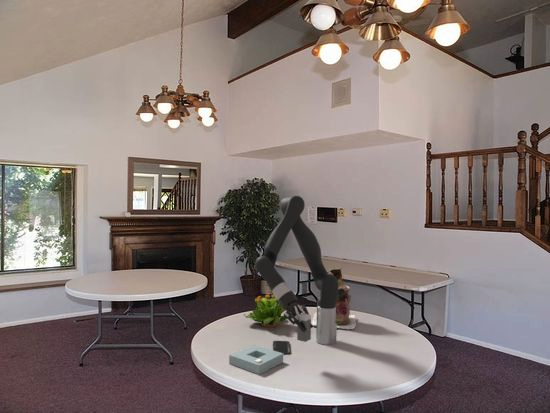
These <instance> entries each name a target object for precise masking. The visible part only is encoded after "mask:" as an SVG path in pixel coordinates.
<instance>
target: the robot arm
mask: <svg viewBox="0 0 550 413" xmlns="http://www.w3.org/2000/svg"><path fill="white" fill-rule="evenodd" d="M279 205H280V206H279V207H280V211H281V213H282V215H283V218H282V219H281V221H280V222H279V223H278V225H277V226H276V227H275V228H274V229H273V231H272V232H271V233H270V236H269V237H268V239H267V241H266V243H265V246H264V247H263V248H264V252H263V255H261V256H259V257H257V258H256V259H255V264H254V266H255V269H256V270H257V272H258V273H259V274H260V276H261V277H262V278H263V280H265V282H266V285H267V286H268V287H269V289H270V290H271V292H272V295H273V294H274V296H275V297H276V299H277V300H278V303H280V306H282V308H283V309H286V311H284V312H283V316H285V317H286V318H287V320H288V321H289V322H290V324H292V325H296V326H297V325H298V326H299V328H300V329H301V331H302V332H305V331H306V330H307V328H306V327H305V325H304V324H303V322H301V319H300V318H299V316H300V314H308V315H310V313H309V311H308V308H307V306H306V305H305V304H303V305H301V304H299V303H298V300H299V299H298V297H297V296H296V294H295V293H294V291H293V290H292V288H291V287H290V285H288V283H287V282H286V281H285V280H284V278H283V277H282V275H281V274H280V273H279V272H278V271H277V269H276V267H275V265H276V262H277V259H278V255H279V254H280V251H281V249H282V247H283V245H284V243H285V242H286V238H287V237H288V235H289V233H290V232H292V234H293V235H294V238H295V240H296V242H297V245H298V247H299V250H300V252H301V253H302V256H303V257H304V260H305V262H306V264H307V266H308V268H309V270H310V273H311V276H312V278H313V283H314V285H315V287H316V289H317V290H319V292H320V291H321V298H320V299H318V300H317V301H316V313H317V324H316V326H315V327H316V328H315V342H316V343H318V344H320V345H329V346H330V345H334V344H337V335H338V334H337V333H338V332H337V329H338V328H337V324H336V303H337V300H338V288H339V284H338V280H337V278H336V277H335V276H334V275H331V274H328V273H327V272H328V271H327V269H326V267H325V265H324V264H323V261H322V250H321V249H322V248H321V246H320V243H319V242H318V239H317V237H316V235H315V233H314V232H313V231H312V230H311V228H309V226H307V224H306V223H305V222H304V221H303V219H302V217H301V215H302V214H303V211H304V209H305V200H304V199H303V197H301V196H300V195H290V196H286V197H283V198H282V199H281V201H280V203H279ZM313 327H314V326H313V325H312V324H311V329H313Z"/></svg>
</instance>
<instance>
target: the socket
mask: <svg viewBox="0 0 550 413" xmlns="http://www.w3.org/2000/svg"><path fill="white" fill-rule="evenodd" d="M283 362H284V354H283V353H280V352H277V351H273V349H270V348H266V347H263V346H260V345H258V344H257V345H256V344H253V345H250V346H248V347H245V348H243V349H241V350H238V351H236V352H233V353H231V354H229V356H228V364H229V365H233V366H235V367H238V368H240V369H243V370H246V371H249V372H251V373H254V374H257V375H261V374H263V373H264V372H267V371H268V370H270V369H272V368H274V367H277V366H278V365H280V364H282V363H283Z"/></svg>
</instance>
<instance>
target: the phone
mask: <svg viewBox="0 0 550 413" xmlns="http://www.w3.org/2000/svg"><path fill="white" fill-rule="evenodd" d="M272 350H273V351H277V352H280V353H283V355H290V354H291V345H290V341H289V340H288V341H287V340H273V341H272Z"/></svg>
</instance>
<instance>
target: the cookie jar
mask: <svg viewBox="0 0 550 413" xmlns="http://www.w3.org/2000/svg"><path fill="white" fill-rule="evenodd" d="M341 269H342V266H340V267H339V268H331V269H330V270H328V271H327V273H328V274H331V275H334V276H335V277H336V278H337V280H338V284H339V288H338V300H337V303H336V324H337V329H341V330H342V329H343V330H349V329H352V330H353V329H355V328H356V324H357V322H356V315H355V314H350V313H351V304H350V303H351V302H352V300H351V299H352V297H351V294H349V291H350V290H351V287H350V286H348V285H346V284H345V283H344V282H343V280H342V278H343V274H342V270H341ZM320 298H321V291H320V290H319V299H320ZM319 299H318V300H319ZM311 324H312V325H313V327H316V324H317V312H315V313H314V315H313V317H312V319H311Z"/></svg>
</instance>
